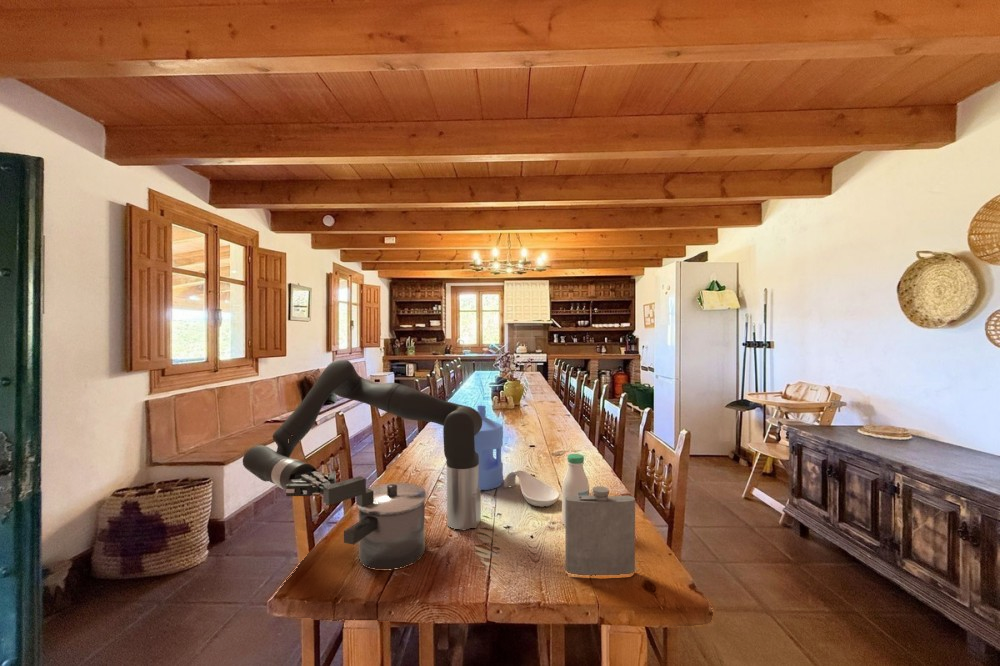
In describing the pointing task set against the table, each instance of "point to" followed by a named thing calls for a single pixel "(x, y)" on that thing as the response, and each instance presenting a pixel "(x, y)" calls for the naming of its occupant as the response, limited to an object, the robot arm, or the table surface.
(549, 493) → the spoon rest
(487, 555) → the table surface
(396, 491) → the pressure cooker lid
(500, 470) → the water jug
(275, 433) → the robot arm
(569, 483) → the milk bottle
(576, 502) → the hip flask
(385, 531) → the pressure cooker pot
